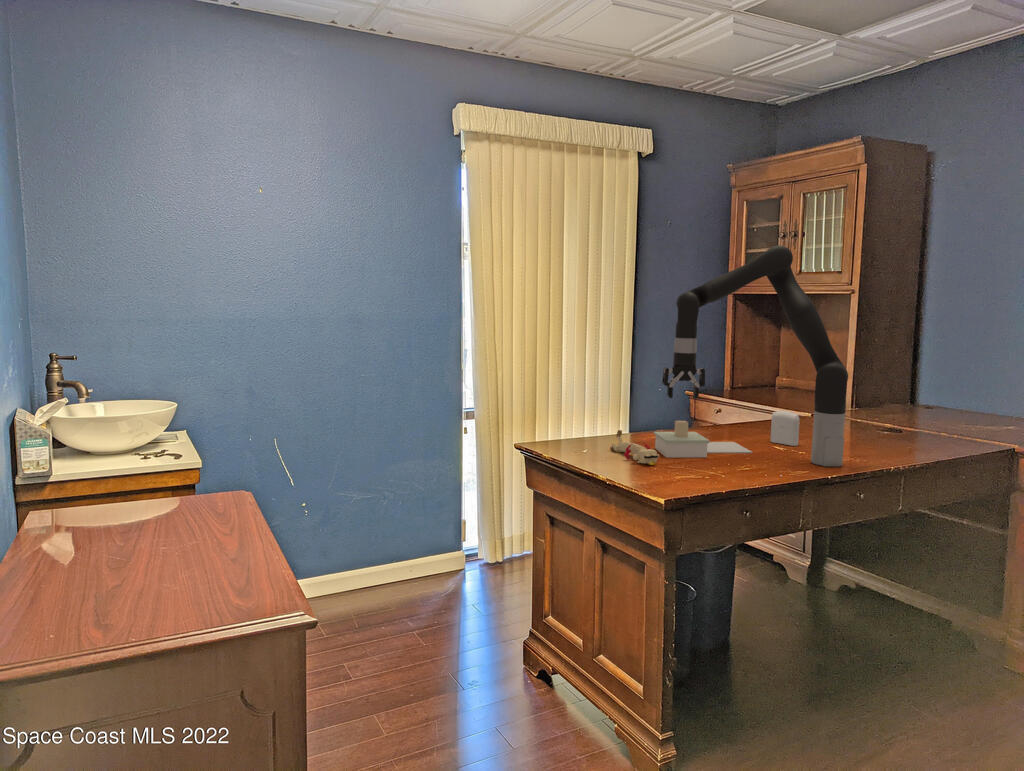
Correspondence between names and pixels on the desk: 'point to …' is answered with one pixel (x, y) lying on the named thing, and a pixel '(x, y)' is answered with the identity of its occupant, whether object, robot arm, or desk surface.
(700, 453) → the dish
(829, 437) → the robot arm
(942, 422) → the desk surface
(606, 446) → the desk surface
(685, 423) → the lid
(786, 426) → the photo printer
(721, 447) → the mat
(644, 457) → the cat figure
